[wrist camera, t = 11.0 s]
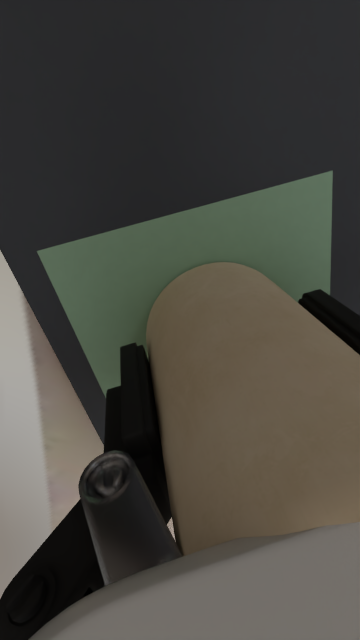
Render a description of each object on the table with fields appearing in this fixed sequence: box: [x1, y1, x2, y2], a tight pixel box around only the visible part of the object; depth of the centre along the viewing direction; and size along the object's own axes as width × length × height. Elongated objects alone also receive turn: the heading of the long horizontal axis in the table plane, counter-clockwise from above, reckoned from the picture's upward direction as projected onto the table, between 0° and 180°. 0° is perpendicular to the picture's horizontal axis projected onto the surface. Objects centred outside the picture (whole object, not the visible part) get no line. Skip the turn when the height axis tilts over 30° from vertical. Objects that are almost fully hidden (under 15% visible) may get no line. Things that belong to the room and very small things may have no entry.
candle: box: [146, 262, 360, 556], centre depth 8 cm, size 6×6×10 cm
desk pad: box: [0, 0, 360, 444], centre depth 9 cm, size 26×23×1 cm
